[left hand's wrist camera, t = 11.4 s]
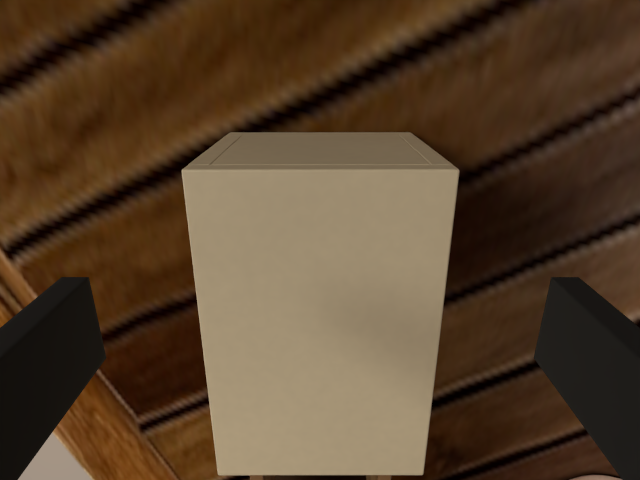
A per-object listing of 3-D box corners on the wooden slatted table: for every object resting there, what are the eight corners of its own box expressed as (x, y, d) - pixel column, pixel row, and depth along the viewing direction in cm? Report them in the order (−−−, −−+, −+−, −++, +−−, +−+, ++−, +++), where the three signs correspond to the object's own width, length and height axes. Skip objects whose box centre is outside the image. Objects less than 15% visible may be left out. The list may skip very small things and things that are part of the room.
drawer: (377, 516, 38) (392, 630, 30) (263, 516, 38) (249, 630, 30) (392, 302, 30) (416, 383, 23) (248, 302, 30) (224, 383, 23)
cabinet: (394, 358, 33) (423, 475, 24) (246, 358, 33) (217, 476, 24) (411, 132, 27) (460, 169, 17) (229, 132, 27) (180, 169, 17)
